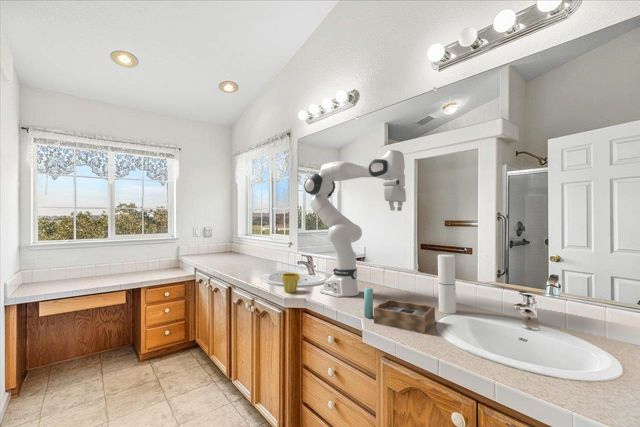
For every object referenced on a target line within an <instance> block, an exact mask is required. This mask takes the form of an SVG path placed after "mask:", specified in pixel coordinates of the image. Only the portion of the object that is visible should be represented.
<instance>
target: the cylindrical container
mask: <svg viewBox="0 0 640 427" xmlns="http://www.w3.org/2000/svg"><path fill="white" fill-rule="evenodd" d="M437 284H438V285H437V286H438V287H437V289H438V311H439V313H443V314H447V315H454V314H456V313H457V298H456V296H457V295H456V294H457V291H456V290H457V289H456V286H457V285H456V255H454V254H438V255H437Z"/></svg>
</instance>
